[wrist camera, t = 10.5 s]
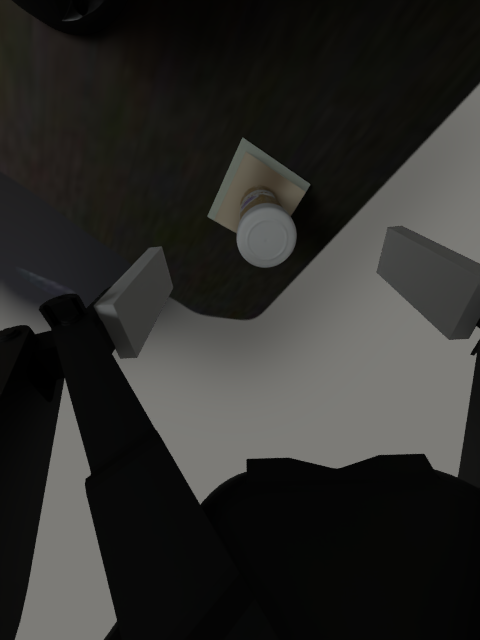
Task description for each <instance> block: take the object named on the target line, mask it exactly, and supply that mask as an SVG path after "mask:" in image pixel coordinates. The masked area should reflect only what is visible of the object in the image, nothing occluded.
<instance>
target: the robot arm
mask: <svg viewBox="0 0 480 640" xmlns="http://www.w3.org/2000/svg"><path fill="white" fill-rule="evenodd" d="M12 1H13V2H15V3H16V4H17V5H18V6H20V7H21V8H22V9H24V10H25V11H26V12H28V13H29V14H31V15H32V16H34V17H35V18H37V19H39V20H40V21H42V22H43V23H45V24H47V25H49V26H50V27H52V28H55V29H57V30H59V31H62V32H65V33H70V34H76V35H84V34H91V33H94V32H97V31H100V30H102V29H103V28H105V27H107V26H108V25H109V24H110V23H112V22H113V21H114V20H115V19H116V17H117V16H118V15H119V14H120V12H121V11H122V9H123V8H124V6H125V4H126V2H127V0H12ZM377 273H378V274H379V275H380V276H381V277H382V278H383V279H384V280H385V281H387V282H388V283H389V284H390V285H391V286H392V287H393V288H394V289H395V290H396V291H397V292H398V293H399V294H400V295H402V296H403V297H404V298H405V299H406V300H407V301H408V302H409V303H410V304H411V305H412V306H413V307H414V308H416V309H417V310H418V311H419V312H420V313H421V314H422V315H423V316H424V317H425V318H426V319H427V320H428V321H430V322H431V323H432V324H433V325H434V326H435V327H436V328H437V329H438V330H439V331H440V332H441V333H442V334H443V335H445V336H446V337H447V338H448V339H449V340H453V339H469V337H470V336H471V334H472V332H473V331H474V329H475V327H476V326H477V327H479V328H480V264H479V263H477V262H475V261H473V260H471V259H469V258H467V257H465V256H463V255H461V254H458V253H456V252H454V251H452V250H450V249H448V248H446V247H444V246H442V245H440V244H438V243H436V242H434V241H432V240H430V239H428V238H426V237H423V236H422V235H419V234H417V233H415V232H413V231H411V230H409V229H407V228H405V227H403V226H395V227H388V229H387V233H386V237H385V241H384V245H383V249H382V253H381V257H380V261H379V265H378V269H377ZM172 289H173V285H172V282H171V278H170V275H169V271H168V267H167V264H166V260H165V257H164V253H163V249H162V247H152V248H149V249H148V250H147V251H146V252H145V253H144V254H143V255H142V256H141V257H140V258H139V259H138V260H137V261H136V262H135V263H134V264H133V265H132V266H131V267H130V268H129V269H128V270H127V271H126V273H125V274H124V275H123V276H122V277H121V278H120V279H119V280H118V281H117V282H116V283H115V284H114V285H113V286H111V287H109V288H108V289H106V290H104V291H103V292H102V293H101V294H100V295H99V297H97V298H96V299H95V300H94V302H92V303H91V304H90V305H89V306H88V307H87V308H85V306H84V304H83V302H82V300H81V299H80V297H79V296H78V295H77V294H65V295H61V296H58V297H55V298H53V299H50V300H48V301H46V302H45V303H44V304H42V305H41V306H40V308H39V311H40V312H41V313H42V315H43V317H44V318H45V320H46V321H47V322H48V324H49V325H50V327H51V329H52V330H51V331H47V332H43V333H39V334H34V332H33V331H32V329H31V328H30V327H29V326H27V325H20V326H15V327H11V328H6V329H4V330H3V331H0V640H15V637H16V633H17V630H18V627H19V623H20V619H21V615H22V611H23V606H24V602H25V597H26V593H27V588H28V583H29V577H30V572H31V566H32V560H33V554H34V549H35V543H36V537H37V532H38V526H39V520H40V514H41V509H42V503H43V498H44V492H45V486H46V481H47V475H48V469H49V463H50V458H51V452H52V446H53V440H54V435H55V429H56V423H57V418H58V412H59V407H60V401H61V395H62V389H63V384H64V378H65V380H66V383H67V387H68V391H69V394H70V398H71V401H72V405H73V409H74V412H75V416H76V419H77V423H78V427H79V430H80V434H81V437H82V441H83V445H84V448H85V452H86V456H87V459H88V463H89V466H90V471H91V475H90V476H89V477H88V478H86V482H85V488H86V494H87V498H88V502H89V507H90V511H91V514H92V519H93V523H94V527H95V531H96V535H97V540H98V544H99V548H100V552H101V556H102V560H103V564H104V568H105V572H106V576H107V581H108V585H109V589H110V593H111V597H112V601H113V605H114V609H115V614H116V618H117V622H116V623H115V625H114V626H113V628H112V629H111V631H110V632H109V633H108V635H107V636H106V637H105V639H104V640H480V340H479V341H478V343H477V344H476V346H475V348H474V349H473V351H472V353H471V355H475V354H476V353H477V357H476V363H475V370H474V376H473V384H472V390H471V396H470V403H469V409H468V416H467V422H466V429H465V436H464V442H463V449H462V455H461V462H460V468H459V474H458V477H455V476H452V475H450V474H447V473H444V472H441V471H438V470H434V469H433V468H432V466H431V464H430V463H429V461H428V459H427V458H426V456H425V454H406V455H405V454H404V455H378V456H376V457H372V458H370V459H366V460H363V461H360V462H358V463H355V464H352V465H348V466H345V467H343V468H338V469H335V468H329V467H325V466H321V465H317V464H313V463H309V462H304V461H300V460H296V459H292V458H265V459H247V472H244V473H241V474H238V475H236V476H234V477H232V478H230V479H229V480H227V481H225V482H224V483H223V484H221V485H219V486H218V487H217V488H216V489H215V490H214V491H213V492H211V494H209V496H208V497H207V498H206V499H205V500H204V501H203V502H202V503H201V505H200V504H199V502H198V500H197V499H196V497H195V495H194V494H193V492H192V490H191V489H190V487H189V485H188V483H187V482H186V480H185V478H184V476H183V475H182V473H181V471H180V469H179V468H178V466H177V464H176V463H175V461H174V459H173V457H172V456H171V454H170V452H169V451H168V449H167V447H166V446H165V444H164V442H163V440H162V438H161V437H160V435H159V433H158V432H157V431H156V430H155V428H154V427H153V425H152V423H151V421H150V419H149V418H148V416H147V414H146V412H145V411H144V409H143V407H142V405H141V404H140V402H139V400H138V398H137V397H136V395H135V393H134V391H133V390H132V388H131V386H130V385H129V383H128V381H127V379H126V378H125V376H124V374H123V372H122V371H121V369H120V367H119V365H118V364H117V362H116V360H115V358H114V357H113V355H112V353H113V351H114V350H115V349H116V351H117V353H118V355H119V357H120V358H137V357H138V355H139V353H140V351H141V349H142V347H143V345H144V343H145V341H146V339H147V337H148V335H149V333H150V332H151V330H152V328H153V326H154V324H155V322H156V320H157V317H158V316H159V314H160V312H161V310H162V308H163V306H164V304H165V302H166V300H167V299H168V297H169V295H170V293H171V291H172Z"/></svg>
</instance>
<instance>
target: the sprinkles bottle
mask: <svg viewBox="0 0 480 640" xmlns="http://www.w3.org/2000/svg"><path fill="white" fill-rule="evenodd" d="M239 221H240V222H239V225H238V229H237V245H238V249H239V251H240V253H241V255H242V256H243V257H244V259H245V260H247V261H248V262H249V263H251V264H252V265H255V266H258V267H263V268H266V267H273V266H276V265H278V264H280V263H282V262H283V261H285V260H286V259H287V258H288V257H289V256H290V254H291V253H292V251H293V249H294V247H295V244H296V239H297V232H296V227H295V224H294V222H293V220H292V218H291V216H290V215H289V214H288V212H287V211H286V210H285V209H284V208H283V207H282V205H281V204H280V202H279V201H278V200H277V198H276V196H275V194H274V192H273V191H272V190H271V189H270V188H268V187H265V186H262V185H257V186H253V187H251V188H250V189H248V190H247V191H246V192H245V193H244V195H243V196H242V199H241V202H240V217H239Z"/></svg>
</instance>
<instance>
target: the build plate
mask: <svg viewBox="0 0 480 640" xmlns="http://www.w3.org/2000/svg"><path fill="white" fill-rule="evenodd" d="M245 152H247V153H249V154H250V155H252V156H253V157H255V158H256V159H258V160H259V161H261V162H262V163H264V164H265V165H266V166H268V167H269V168H271V169H272V170H274V171H275V172H277V173H278V174H280V175H281V176H283V177H284V178H286V179H287V180H289V181H290V182H292V183H293V184H295V185H296V186H298V187H299V188H301V189H302V190H304V191H305V192H306V191H307V189H308V188H309V186H310V185H311V184H309V183H308V182H306V181H305V180H304V179H302V178H301V177H299V176H298V175H296V174H295V173H293V172H292V171H290V170H289V169H288V168H286V167H285V166H283V165H282V164H280V163H279V162H277V161H276V160H275V159H273V158H272V157H270V156H269V155H267V154H266V153H264V152H263V151H262V150H260V149H259V148H257V147H256V146H254V145H253V144H251V143H250V142H248V141H247V140H246V139H244V138H242V140H241V142H240V144H239V147H238V149H237V151H236V153H235V156H234V158H233V160H232V162H231V165H230V167H229V169H228V171H227V174H226V176H225V178H224V180H223V183H222V185H221V187H220V189H219V192H218V194H217V196H216V198H215V201H214V203H213V205H212V207H211V210H210V212H209V214H208V216H207V217H209V218H211V219H213V220H214V219H215V217H216V215H217V213H218V210H219V208H220V206H221V204H222V202H223V200H224V197H225V195H226V193H227V191H228V189H229V187H230V185H231V182H232V180H233V178H234V176H235V174H236V172H237V169H238V167H239V165H240V163H241V161H242V159H243V157H244V154H245Z"/></svg>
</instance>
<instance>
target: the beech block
mask: <svg viewBox="0 0 480 640" xmlns="http://www.w3.org/2000/svg"><path fill="white" fill-rule="evenodd" d="M257 185H262V186H265V187H268V188H270V189H271V190H272V191H273V192H274V194H275V196H276V198H277V200H278V201H279V202H280V204H281V205H282V207H283V208H284V209H285V210H286V211H287V212H288V214H289V215H290V216H291V215H292V213H293V212H294V210H295V209H296V207H297V206H298V204H299V202H300V201H301V199H302V198H303V196H304V194H305V193H306V192H305V191H304V190H302V189H301V188H299V187H298V186H296V185H295V184H293V183H292V182H290V181H289V180H287V179H286V178H284V177H283V176H281V175H280V174H278V173H277V172H275V171H274V170H272V169H271V168H269V167H268V166H266V165H265V164H264V163H262V162H261V161H259V160H258V159H256V158H255V157H253V156H252V155H250V154H249V153H247V152H245V154H244V157H243V159H242V161H241V163H240V165H239V167H238V169H237V172H236V174H235V176H234V178H233V180H232V182H231V185H230V187H229V189H228V191H227V193H226V195H225V197H224V200H223V202H222V204H221V206H220V208H219V210H218V213H217V215H216V217H215V219H214V221H216V222H218V223H219V224H221V225H223V226H225V227H227V228H228V229H230V230H232V231H234V232H235V233H237V229H238V225H239V222H240V221H239V217H240V202H241V199H242V196H243V195H244V193H245V192H246V191H247V190H248V189H250V188H251V187H253V186H257Z"/></svg>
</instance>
